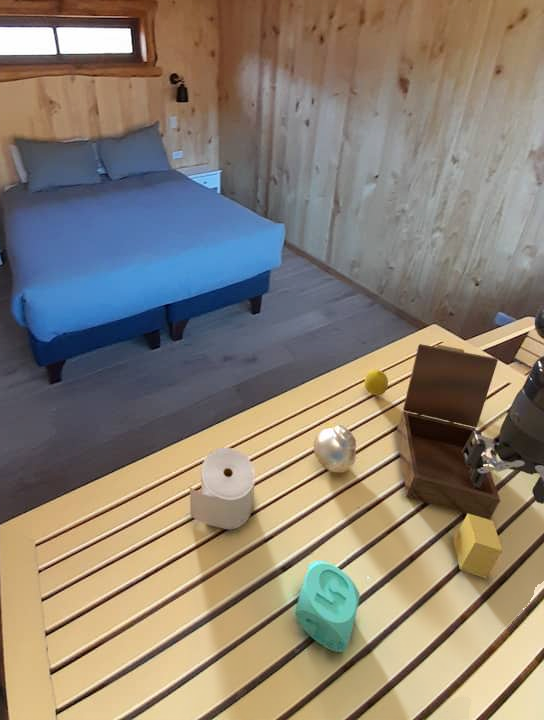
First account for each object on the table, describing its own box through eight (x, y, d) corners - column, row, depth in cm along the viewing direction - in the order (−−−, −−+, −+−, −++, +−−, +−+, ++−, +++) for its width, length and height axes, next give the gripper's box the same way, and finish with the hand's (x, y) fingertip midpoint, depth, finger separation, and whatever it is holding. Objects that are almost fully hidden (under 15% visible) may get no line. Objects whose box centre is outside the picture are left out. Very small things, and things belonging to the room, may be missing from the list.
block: (477, 548, 75) (493, 520, 71) (485, 578, 71) (502, 551, 67) (453, 540, 76) (467, 513, 72) (459, 569, 72) (475, 542, 68)
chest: (488, 521, 79) (500, 500, 76) (406, 497, 84) (413, 476, 81) (466, 448, 93) (475, 428, 90) (396, 430, 98) (402, 410, 95)
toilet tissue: (260, 494, 85) (264, 464, 80) (234, 548, 76) (236, 518, 72) (217, 468, 90) (218, 438, 86) (187, 515, 81) (187, 485, 77)
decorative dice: (292, 624, 66) (297, 600, 62) (308, 575, 72) (313, 551, 68) (342, 661, 62) (350, 638, 58) (354, 606, 68) (362, 582, 64)
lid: (498, 360, 84) (489, 347, 89) (419, 345, 89) (415, 334, 94) (476, 427, 90) (469, 412, 94) (403, 410, 94) (400, 396, 99)
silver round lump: (361, 481, 87) (370, 451, 83) (318, 481, 87) (324, 451, 83) (346, 443, 95) (353, 414, 91) (306, 444, 95) (311, 415, 91)
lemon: (385, 390, 109) (391, 368, 105) (383, 404, 105) (389, 382, 101) (364, 382, 112) (369, 361, 108) (360, 396, 107) (366, 374, 104)
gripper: (589, 413, 59) (548, 481, 66) (477, 390, 63) (449, 457, 71) (619, 458, 53) (570, 528, 60) (493, 430, 57) (461, 498, 64)
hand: (505, 489), depth 65 cm, fingers open, 8 cm apart
